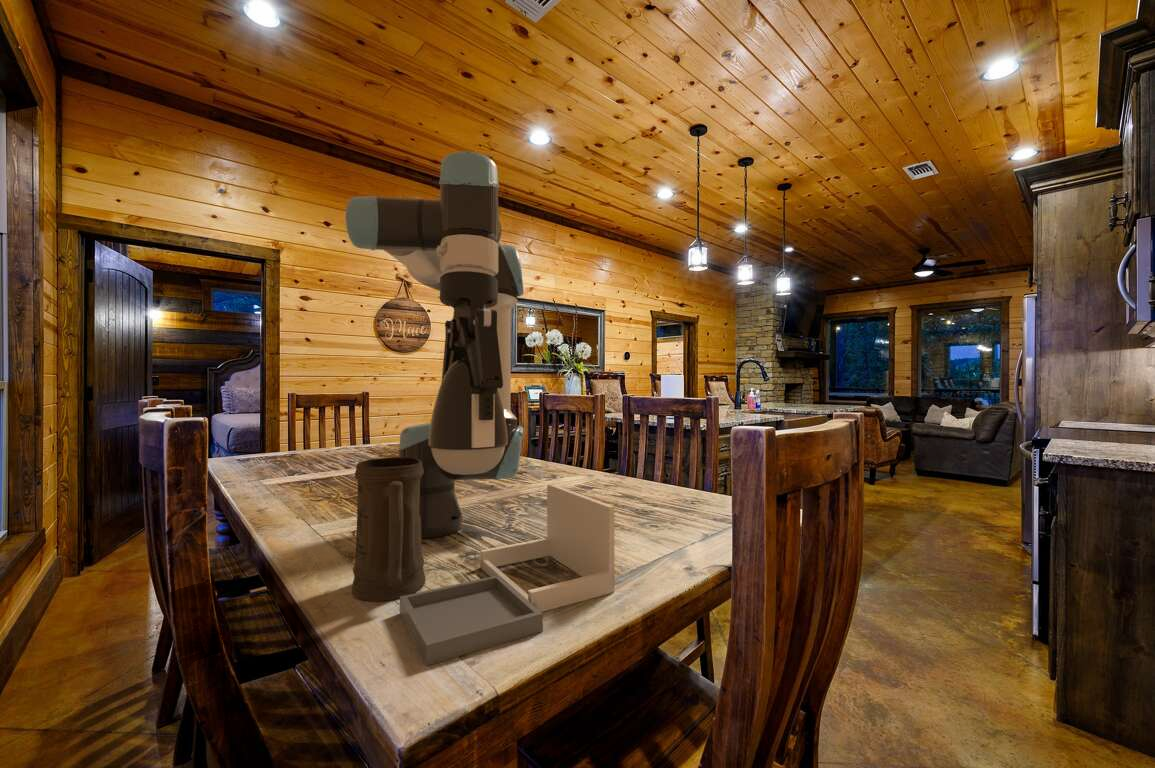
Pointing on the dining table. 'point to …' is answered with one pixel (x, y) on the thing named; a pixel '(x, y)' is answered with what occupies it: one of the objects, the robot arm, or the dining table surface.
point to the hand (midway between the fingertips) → (468, 442)
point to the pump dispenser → (462, 426)
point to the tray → (467, 618)
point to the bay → (565, 550)
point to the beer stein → (388, 529)
